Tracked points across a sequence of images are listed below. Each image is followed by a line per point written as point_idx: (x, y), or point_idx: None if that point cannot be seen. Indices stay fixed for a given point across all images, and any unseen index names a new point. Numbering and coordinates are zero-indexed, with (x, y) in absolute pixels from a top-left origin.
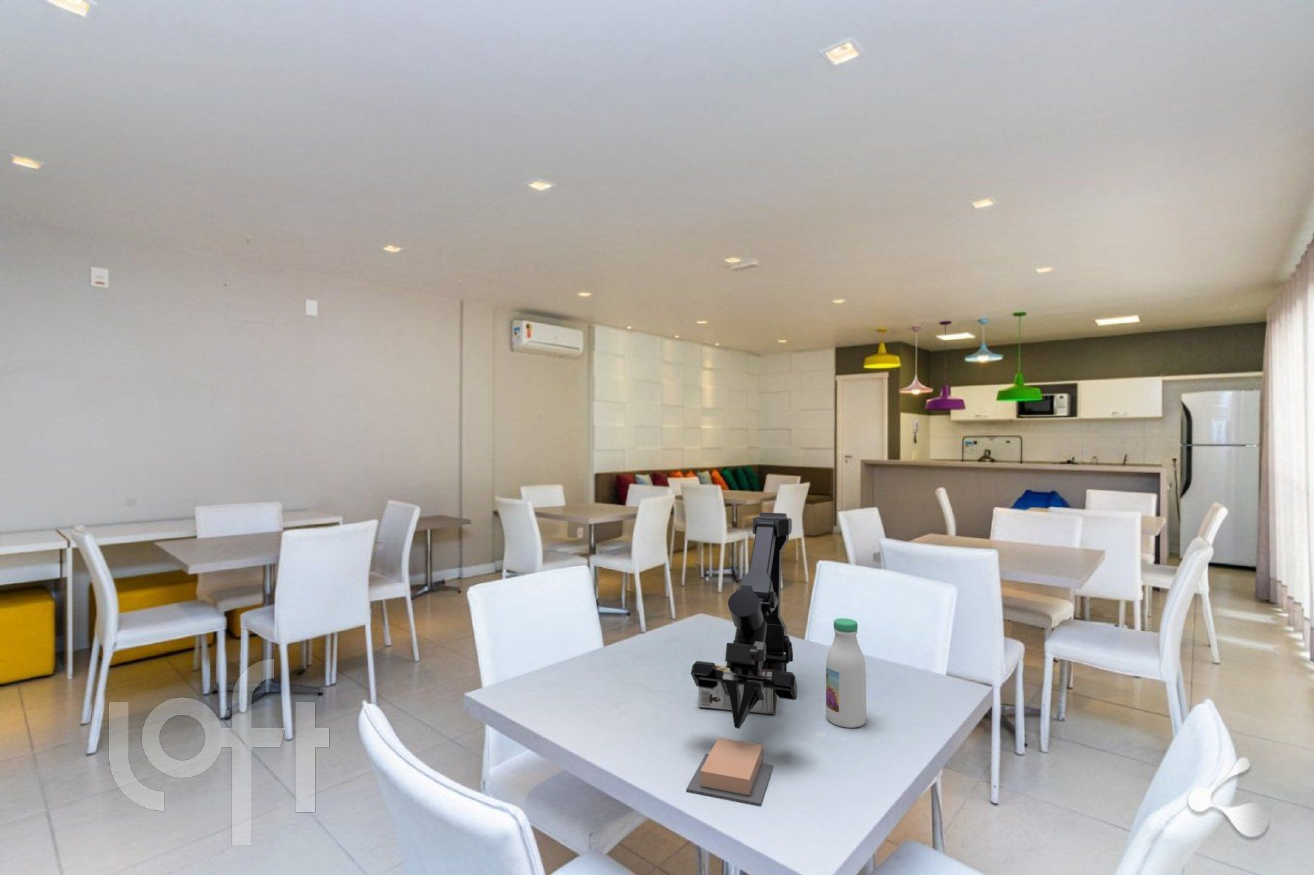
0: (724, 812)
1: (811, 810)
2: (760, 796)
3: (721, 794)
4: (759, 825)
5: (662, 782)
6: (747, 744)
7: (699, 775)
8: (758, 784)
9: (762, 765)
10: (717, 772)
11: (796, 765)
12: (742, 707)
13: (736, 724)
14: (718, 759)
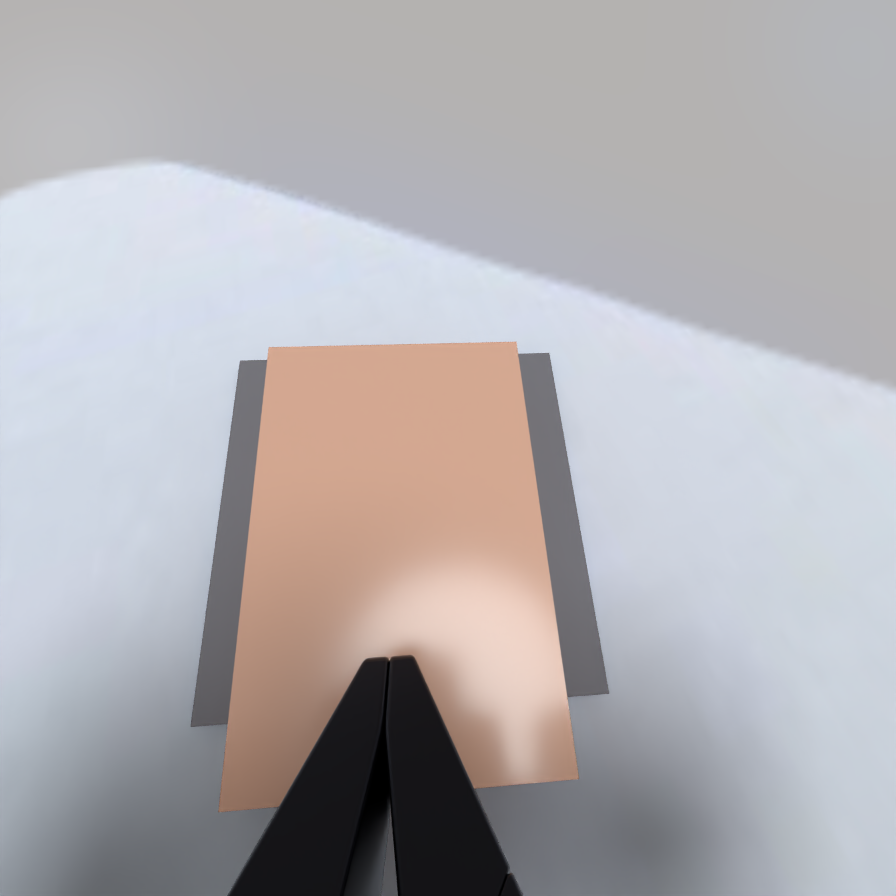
0: (371, 295)
1: (29, 406)
2: (245, 404)
3: None
4: (240, 271)
5: (659, 382)
6: None
7: (542, 460)
8: None
9: None
10: (434, 356)
11: (41, 822)
12: (299, 872)
13: (390, 662)
14: (470, 470)
